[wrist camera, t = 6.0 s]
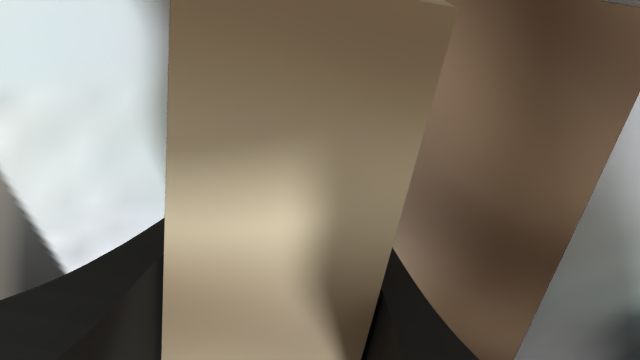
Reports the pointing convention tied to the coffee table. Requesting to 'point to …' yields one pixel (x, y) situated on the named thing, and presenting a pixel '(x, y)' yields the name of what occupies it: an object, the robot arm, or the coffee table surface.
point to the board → (514, 157)
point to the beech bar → (289, 168)
